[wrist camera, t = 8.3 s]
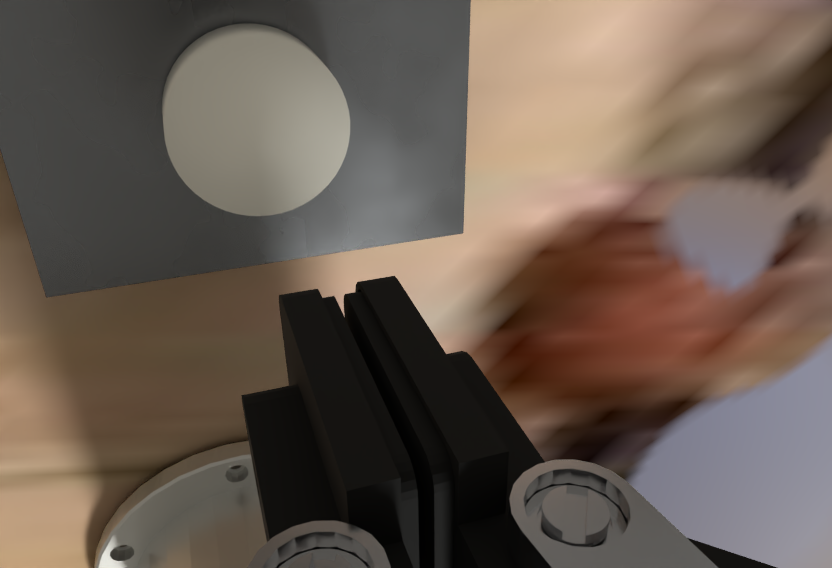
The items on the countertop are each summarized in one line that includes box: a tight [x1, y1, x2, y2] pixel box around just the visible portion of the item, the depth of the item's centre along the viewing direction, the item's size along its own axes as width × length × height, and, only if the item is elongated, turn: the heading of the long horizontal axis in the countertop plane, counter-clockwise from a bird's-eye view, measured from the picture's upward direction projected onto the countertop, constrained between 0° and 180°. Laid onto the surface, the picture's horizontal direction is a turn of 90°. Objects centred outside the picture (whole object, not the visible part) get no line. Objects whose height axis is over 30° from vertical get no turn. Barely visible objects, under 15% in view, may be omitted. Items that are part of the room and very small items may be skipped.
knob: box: [162, 23, 350, 216], centre depth 19 cm, size 4×4×5 cm
